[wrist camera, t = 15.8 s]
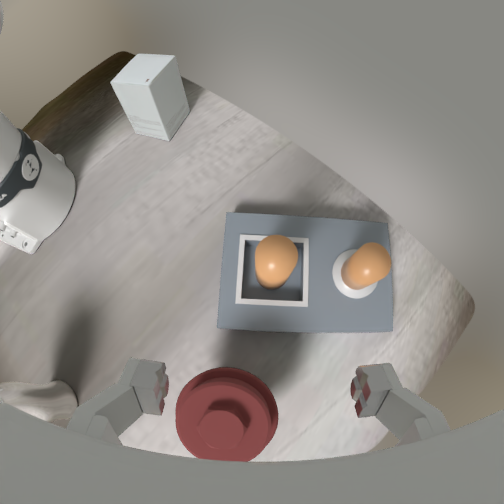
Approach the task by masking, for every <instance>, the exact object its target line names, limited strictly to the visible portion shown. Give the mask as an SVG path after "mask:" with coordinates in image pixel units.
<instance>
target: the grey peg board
mask: <svg viewBox="0 0 504 504" xmlns="http://www.w3.org/2000/svg"><path fill="white" fill-rule="evenodd" d="M270 235H282V236H285V237H287V238H289V239H290V240H291V241H292V242H293V243H294V244H295V246H296V248H297V251H298V261H297V264H296V266H295V268H294V269H293V271H292V273H291V274H290V276H289V278H288V279H287V281H286V283H285V284H284V285H283V286H282V287H280V288H278V289H275V290H268V289H265V288H263V287H262V286H261V285H260V284H259V283H258V282H257V279H256V275H255V251H256V248H257V246H258V244H259V242H260V241H261V240H262V239H264V238H265V237H267V236H270ZM217 328H220V329H232V330H248V331H267V332H295V333H372V332H390V331H393V296H392V272H391V256H390V244H389V233H388V223H381V222H370V221H359V220H347V219H334V218H321V217H306V216H290V215H273V214H254V213H232V212H227V213H226V223H225V234H224V245H223V256H222V268H221V280H220V293H219V306H218V320H217Z"/></svg>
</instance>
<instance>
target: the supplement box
mask: <svg viewBox="0 0 504 504" xmlns="http://www.w3.org/2000/svg"><path fill="white" fill-rule="evenodd" d="M110 83H111V85H112V87H113V89H114V91H115V93H116V95H117V97H118V99H119V101H120V103H121V105H122V107H123V109H124V111H125V113H126V115H127V117H128V119H129V120H130V122H131V124H132V126H133V128H134V130H135V132H136V134H141V135H145V136H149V137H154V138H158V139H162V140H166V141H170V140H171V138H172V137H173V136H174V134H175V133H176V131H177V130H178V128H179V127H180V125H181V124H182V123H183V121H184V120H185V118H186V117H187V115H188V114H189V112H190V109H189V105H188V101H187V98H186V94H185V90H184V87H183V83H182V79H181V75H180V72H179V68H178V64H177V60H176V56H173V55H158V54H137V55H136V56H135V57H134V58H133V59H132V60H131V61H130V62H129V63H128V64H127V65H126V66H125V67H124V68H123V69H122V70H121V71H120V72H119V73H118V75H117V76H116V77H115V78H114V79H113V80H112V81H111V82H110Z"/></svg>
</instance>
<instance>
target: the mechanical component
mask: <svg viewBox="0 0 504 504" xmlns="http://www.w3.org/2000/svg"><path fill="white" fill-rule="evenodd" d="M277 425H278V409H277V405H276V401H275V399H274V396H273V394H272V393H271V391H270V389H269V388H268V387H267V386H266V384H265V383H263V382H262V381H261V380H260V379H259V378H257V377H256V376H255V375H253V374H251V373H249V372H247V371H244V370H241V369H237V368H229V367H222V368H214V369H211V370H207V371H205V372H203V373H201V374H199V375H197V376H196V377H194V378H193V379H192V380H190V381H189V382H188V383H187V384H186V385H185V387H184V388H183V390H182V391H181V393H180V395H179V397H178V400H177V404H176V429H177V433H178V435H179V438H180V440H181V442H182V443H183V445H184V446H185V447H186V448H187V450H188V451H189V452H191V453H192V454H193V455H194V456H196V457H197V458H199V459H209V460H221V461H242V462H248V461H250V460H251V459H253V458H255V457H256V456H257V455H258V454H260V453H261V451H262V450H263V449H264V448H265V446H266V445H268V443H269V442H270V441H271V439H272V438H273V436H274V434H275V431H276V429H277Z"/></svg>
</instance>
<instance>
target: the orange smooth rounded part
mask: <svg viewBox="0 0 504 504" xmlns="http://www.w3.org/2000/svg"><path fill="white" fill-rule="evenodd" d="M297 261H298V251H297V248H296V246H295V244H294V243H293V242H292V241H291V240H290V239H289V238H287V237H285V236H282V235H270V236H267V237H265V238H264V239H262V240H261V241H260V242H259V244H258V246H257V248H256V251H255V275H256V279H257V282H258V283H259V284H260V285H261V286H262V287H263V288H265V289H268V290H275V289H278V288H280V287H282V286H283V285H284V284H285V283H286V281H287V279H288V278H289V276H290V274H291V273H292V271H293V269H294V268H295V266H296V264H297Z"/></svg>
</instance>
